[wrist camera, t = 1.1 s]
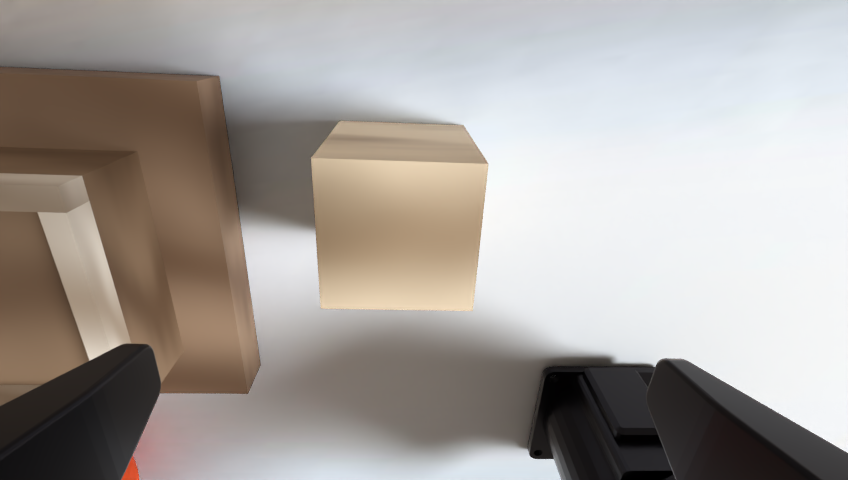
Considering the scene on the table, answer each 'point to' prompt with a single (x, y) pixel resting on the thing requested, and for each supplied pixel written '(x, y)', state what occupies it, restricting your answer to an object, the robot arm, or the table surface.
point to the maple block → (398, 216)
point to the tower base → (120, 229)
